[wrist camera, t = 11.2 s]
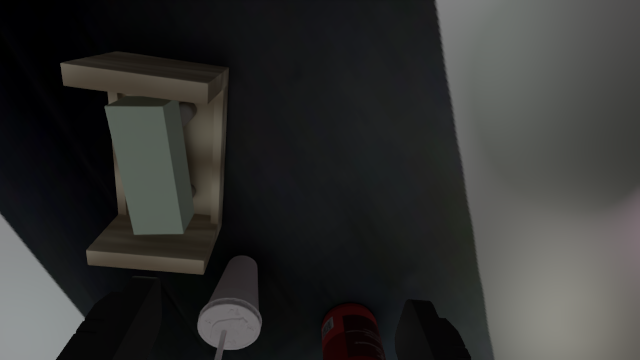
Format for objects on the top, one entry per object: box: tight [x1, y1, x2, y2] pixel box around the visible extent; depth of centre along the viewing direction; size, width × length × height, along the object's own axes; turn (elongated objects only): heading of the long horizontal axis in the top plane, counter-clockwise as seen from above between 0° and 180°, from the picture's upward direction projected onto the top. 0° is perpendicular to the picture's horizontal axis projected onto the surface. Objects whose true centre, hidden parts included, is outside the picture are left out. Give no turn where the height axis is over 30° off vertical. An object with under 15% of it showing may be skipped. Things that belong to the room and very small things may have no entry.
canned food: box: [321, 303, 386, 360], centre depth 45 cm, size 8×8×11 cm
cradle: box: [61, 51, 229, 274], centre depth 34 cm, size 18×10×9 cm, turn 171°
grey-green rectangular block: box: [105, 96, 195, 235], centre depth 33 cm, size 12×4×4 cm, turn 179°
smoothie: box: [198, 255, 262, 360], centre depth 39 cm, size 6×6×14 cm
